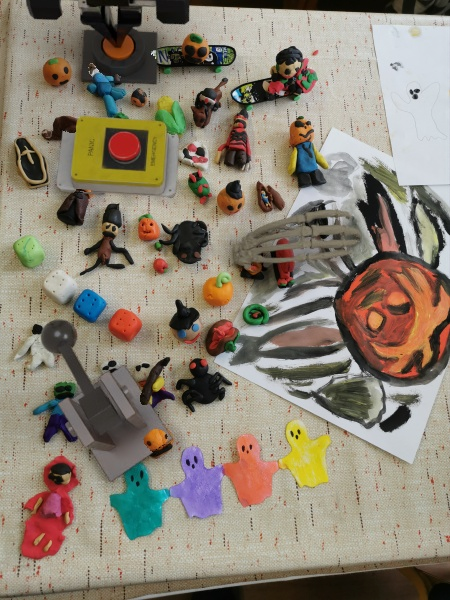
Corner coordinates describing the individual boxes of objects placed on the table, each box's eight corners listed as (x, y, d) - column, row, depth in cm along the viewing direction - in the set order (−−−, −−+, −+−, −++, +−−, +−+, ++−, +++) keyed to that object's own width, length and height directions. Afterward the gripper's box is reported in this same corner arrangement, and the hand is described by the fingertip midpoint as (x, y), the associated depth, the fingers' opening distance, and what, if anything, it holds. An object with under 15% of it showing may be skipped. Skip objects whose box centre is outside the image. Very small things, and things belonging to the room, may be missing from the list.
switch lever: (47, 347, 59) (30, 325, 57) (76, 329, 60) (61, 306, 58) (96, 444, 48) (77, 421, 46) (131, 420, 49) (115, 396, 47)
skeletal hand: (364, 255, 72) (382, 247, 65) (236, 280, 70) (242, 274, 64) (354, 210, 72) (371, 198, 66) (226, 234, 70) (231, 224, 64)
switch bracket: (64, 405, 63) (24, 386, 47) (125, 366, 65) (106, 334, 49) (111, 482, 61) (86, 488, 45) (172, 439, 63) (169, 430, 47)
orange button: (104, 66, 75) (102, 56, 73) (105, 41, 76) (103, 31, 74) (134, 66, 75) (133, 57, 74) (134, 42, 76) (133, 32, 75)
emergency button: (175, 182, 67) (48, 174, 66) (175, 198, 71) (56, 191, 70) (179, 115, 70) (57, 106, 69) (179, 134, 74) (64, 127, 73)
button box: (81, 82, 75) (78, 69, 73) (84, 33, 77) (81, 19, 75) (156, 84, 76) (155, 72, 73) (157, 35, 78) (156, 22, 76)
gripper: (189, -114, 62) (188, -2, 77) (17, -124, 61) (50, -7, 76) (190, -34, 59) (188, 66, 74) (8, -42, 57) (44, 62, 72)
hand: (118, 44), depth 74 cm, fingers closed, pressing on orange button
